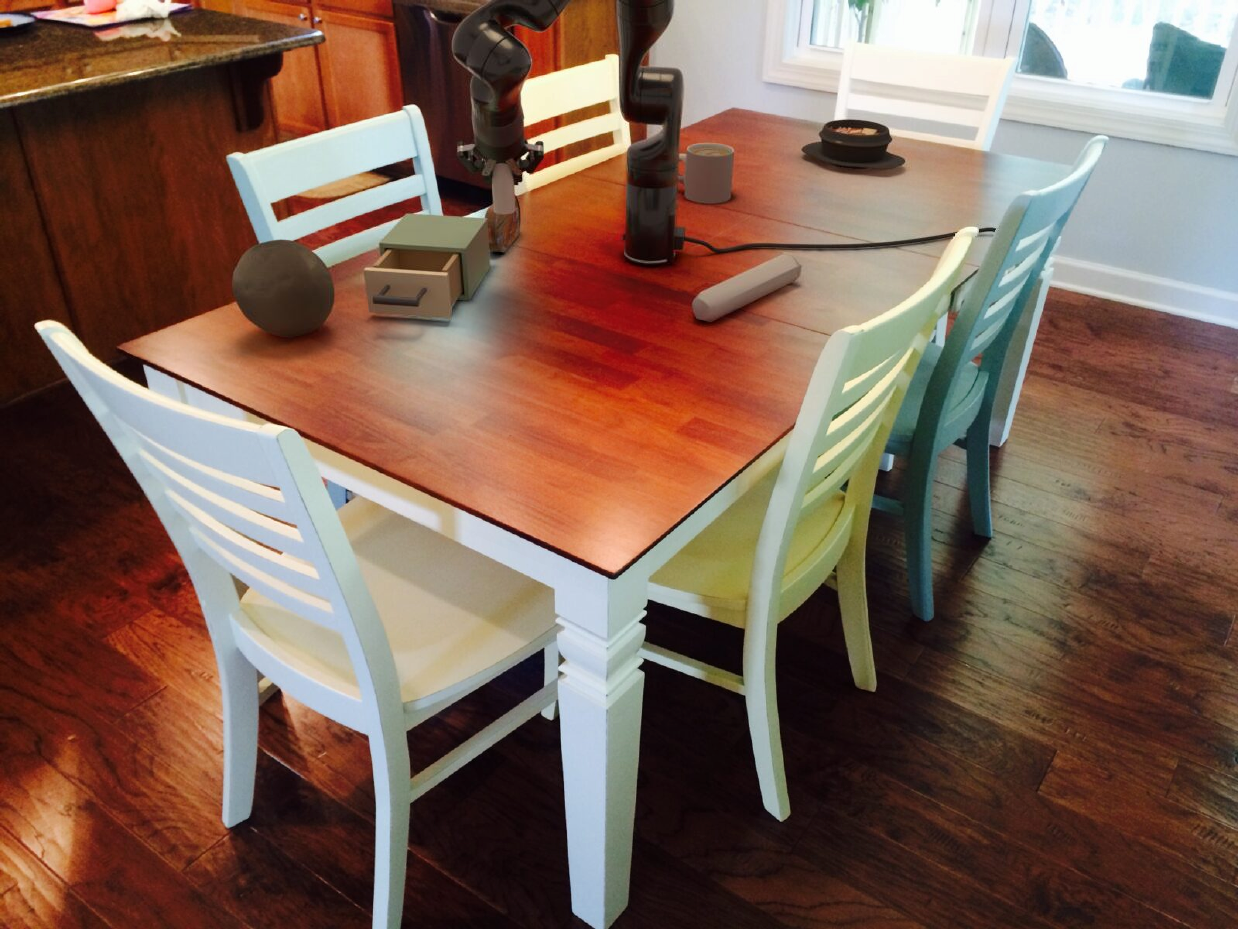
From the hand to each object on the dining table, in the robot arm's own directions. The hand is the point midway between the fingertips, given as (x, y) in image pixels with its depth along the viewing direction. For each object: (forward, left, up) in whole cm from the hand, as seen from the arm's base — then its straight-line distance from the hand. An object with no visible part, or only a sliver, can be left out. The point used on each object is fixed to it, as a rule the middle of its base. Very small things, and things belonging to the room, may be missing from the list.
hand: (503, 179), depth 162 cm
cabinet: (+12, +1, -18) cm, 22 cm away
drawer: (+12, +14, -17) cm, 25 cm away
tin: (+5, -18, -18) cm, 26 cm away
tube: (-41, +1, -18) cm, 45 cm away
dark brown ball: (+28, +26, -18) cm, 42 cm away
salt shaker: (0, +2, -5) cm, 5 cm away
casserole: (-64, -84, -18) cm, 107 cm away
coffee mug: (-30, -54, -18) cm, 64 cm away
